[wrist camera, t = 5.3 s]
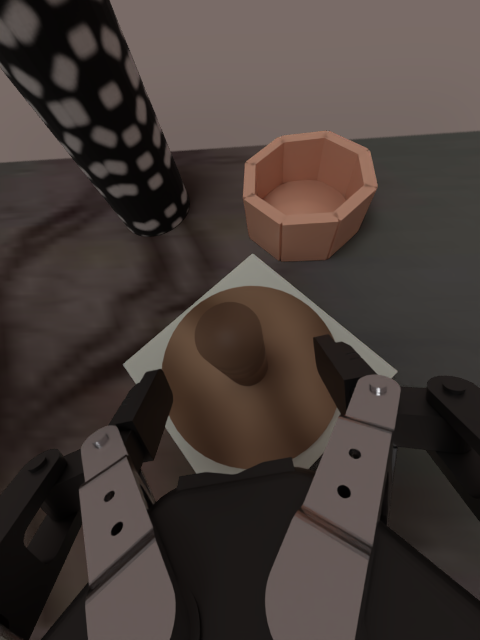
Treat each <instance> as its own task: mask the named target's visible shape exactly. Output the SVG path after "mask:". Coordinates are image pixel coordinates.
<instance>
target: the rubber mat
mask: <svg viewBox="0 0 480 640" xmlns="http://www.w3.org/2000/svg"><path fill="white" fill-rule="evenodd" d="M241 286H263V287H270V288H274V289H278V290H281V291H284V292H286V293H288V294H291V295H293V296H294V297H296V298H298V299H300V300H301V301H303V302H304V303H305V304H307V305H308V306H309V307H311V308H312V309H313V310H314V311H315V312H316V313H317V314H318V315H319V317H320V318H321V319H322V320H323V321H324V323H325V324H326V326H327V327H328V329H329V330H330V332H331V334H332V336H333V338H334V340H335V342H341V341H342V342H344V343H346V344H348V345H350V346H352V347H353V349H354V350H355V351H356V352H357V353H358V354H359V355H360V356H361V358H363V359H364V360H365V361H366V363H367V364H368V365H369V366H370V367H371V368H372V369H373V370H374V371H375V372H376V373H377V374H378V375H382V376H386V377H389V378H392V377H393V376H394V375H395V374H396V373H397V372H398V371H397V370H395V369H394V368H393V367H392V366H391V365H389V364H388V363H387V362H386V361H384V360H383V359H382V358H381V357H379V356H378V355H377V354H376V353H375V352H373V351H372V350H371V349H370V348H368V347H367V346H366V345H365V344H364V343H362V342H361V341H360V340H359V339H357V338H356V337H355V336H354V335H352V334H351V333H350V332H349V331H348V330H346V329H345V328H344V327H343V326H341V325H340V324H339V323H338V322H336V321H335V320H334V319H333V318H332V317H330V316H329V315H328V314H327V313H325V312H324V311H323V310H322V309H320V308H319V307H318V306H317V305H316V304H314V303H313V302H312V301H311V300H309V299H308V298H307V297H306V296H304V295H303V294H302V293H301V292H300V291H298V290H297V289H296V288H295V287H293V286H292V285H291V284H290V283H288V282H287V281H286V280H285V279H284V278H282V277H281V276H280V275H279V274H277V273H276V272H275V271H274V270H272V269H271V268H270V267H269V266H268V265H266V264H265V263H264V262H263V261H261V260H260V259H259V258H258V257H256V256H255V255H254V254H251V255H250V256H249V257H248V258H247V259H246V260H244V261H243V262H242V263H241V264H240V265H239V266H237V267H236V268H235V269H234V270H233V271H232V272H230V273H229V274H228V275H227V276H226V277H225V278H223V279H222V280H221V281H220V282H219V283H218V284H216V285H215V286H214V287H213V288H212V289H211V290H209V291H208V292H207V293H206V294H205V295H204V296H202V297H201V298H200V299H199V300H198V301H196V302H195V303H194V304H193V305H192V306H191V307H189V308H188V309H187V310H186V311H185V312H184V313H182V314H181V315H180V316H179V317H178V318H177V319H175V320H174V321H173V322H172V323H171V324H170V325H168V326H167V327H166V328H165V329H164V330H163V331H161V332H160V333H159V334H158V335H157V336H156V337H154V338H153V339H152V340H151V341H150V342H149V343H147V344H146V345H145V346H144V347H143V348H142V349H140V350H139V351H138V352H137V353H136V354H134V355H133V356H132V357H131V358H130V359H129V360H127V361H126V362H125V363H124V364H123V365H124V367H125V368H126V370H127V371H128V373H129V374H130V376H131V377H132V379H133V380H134V382H135V383H136V384H137V383H140V381H141V379H142V378H143V376H144V374H145V373H146V372H147V371H152V370H157V369H162V362H163V358H164V354H165V350H166V348H167V345H168V342H169V340H170V338H171V336H172V334H173V332H174V330H175V329H176V327H177V326H178V324H179V323H180V322H181V320H182V319H183V318H184V317H185V315H186V314H187V313H188V312H189V311H191V310H192V309H193V308H194V307H195V306H196V305H198V304H199V303H200V302H202V301H203V300H205V299H206V298H208V297H210V296H212V295H214V294H216V293H218V292H221V291H224V290H227V289H230V288H235V287H241ZM339 415H341V414H340V412H339V410H338V408H336V410H335V413H334V415H333V418H332V420H331V421H330V423H329V425H328V426H327V428H326V430H325V431H324V432H323V434H322V435H321V436H320V437H319V439H318V440H317V441H316V442H315V443H314V444H313V445H311V446H310V447H309V448H308V449H307V450H306V451H304V452H303V453H301V454H300V455H298V456H297V457H295V458H293V459H292V460H293V464H294V467H301V468H306V469H309V468H310V467H311V466H312V465H313V464H314V462H315V461H316V460H317V459H318V458H319V457H320V456H321V455H322V454H323V453H324V451H325V448H326V446H327V443H328V441H329V438H330V436H331V433H332V431H333V428H334V426H335V423H336V421H337V419H338V417H339ZM165 428H166V429H167V431H168V432H169V434H170V435H171V437H172V438H173V440H174V441H175V442H176V444H177V445H178V447H179V448H180V450H181V451H182V453H183V454H184V456H185V457H186V459H187V460H188V462H189V463H190V465H191V466H192V468H193V469H194V471H195V472H196V474H197V473H203V472H213V473H223V474H237V473H240V472H242V471H244V470H246V469H240V468H234V467H229V466H226V465H223V464H220V463H217V462H215V461H213V460H211V459H209V458H207V457H205V456H203V455H202V454H201V453H199V452H198V451H196V450H195V449H194V448H193V447H192V446H191V445H189V444H188V443H187V442H186V441H185V440H184V438H183V437H182V436H181V435H180V433H179V432H178V431H177V429H176V428H175V426H174V424H173V422H172V421H171V419H170V416H168V419H167V422H166V425H165Z"/></svg>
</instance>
